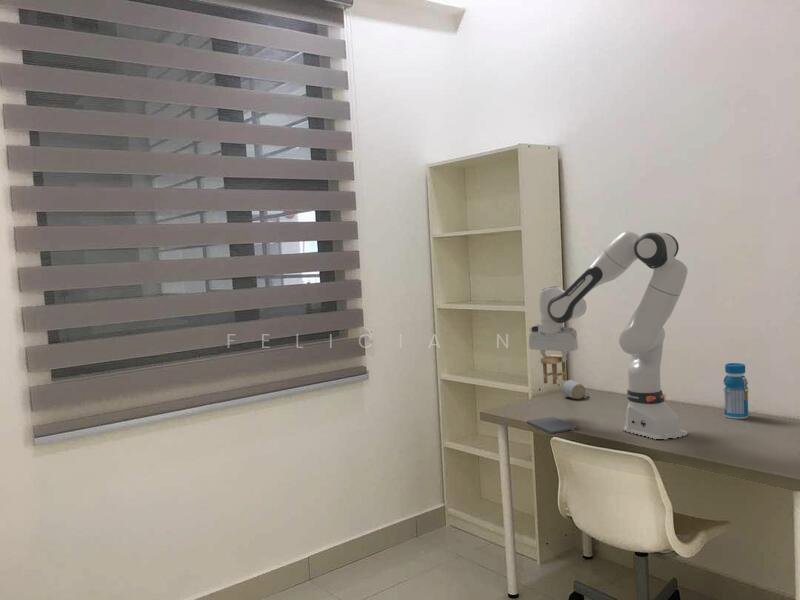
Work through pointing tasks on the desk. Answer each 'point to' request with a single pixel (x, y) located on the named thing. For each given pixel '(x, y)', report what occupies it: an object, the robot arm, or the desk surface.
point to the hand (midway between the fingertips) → (554, 361)
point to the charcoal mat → (552, 425)
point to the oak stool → (553, 367)
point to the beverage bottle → (735, 391)
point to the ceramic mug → (574, 390)
